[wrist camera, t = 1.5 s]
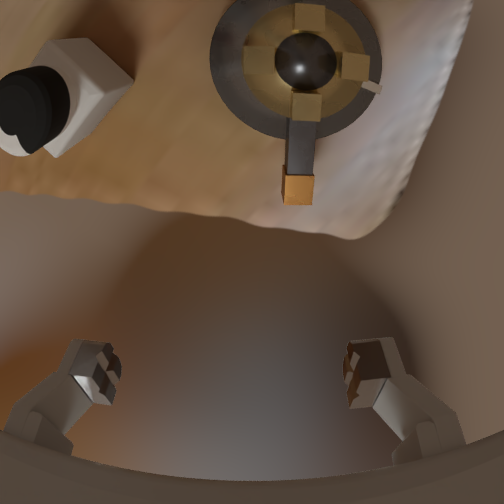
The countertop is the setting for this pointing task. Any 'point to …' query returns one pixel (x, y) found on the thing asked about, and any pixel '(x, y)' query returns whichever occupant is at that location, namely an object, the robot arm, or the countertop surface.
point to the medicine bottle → (58, 97)
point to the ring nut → (303, 80)
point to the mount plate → (237, 91)
